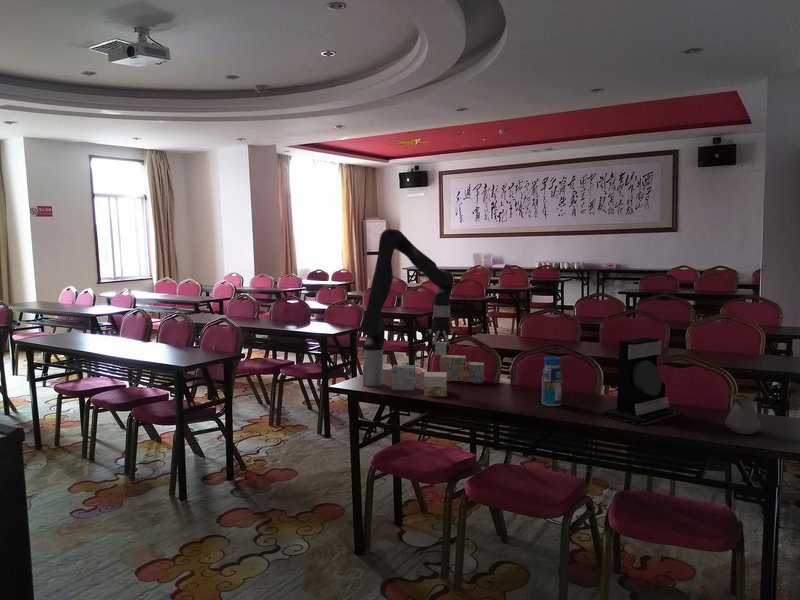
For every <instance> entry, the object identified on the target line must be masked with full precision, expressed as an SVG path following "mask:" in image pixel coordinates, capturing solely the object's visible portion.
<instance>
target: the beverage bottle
mask: <svg viewBox="0 0 800 600" xmlns="http://www.w3.org/2000/svg"><path fill="white" fill-rule="evenodd" d="M543 360H544V361H543V362H544V363H543V364H544V368H543V370H542V372H541V373H542V376H541V382H542V383H541V384H542V385H541V386H542V387H541V388H542V389H541V404H543V405H545V406H549V407H558V406H561V405H562V389H563V388H562V387H563V386H562V384H563V378H562V376H563V371H562V370H561V368H560V367H561V365H562V364H561V362H562V357H559V356H556V355H555V356H553V355H549V356H545V357H544V359H543Z"/></svg>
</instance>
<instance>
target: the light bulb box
mask: <svg viewBox="0 0 800 600" xmlns="http://www.w3.org/2000/svg"><path fill="white" fill-rule="evenodd" d="M415 389H416V365H414V364H413V365H412V364H409V365H408V364H393V366H392V367H391V390H392V391H415Z"/></svg>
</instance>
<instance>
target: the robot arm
mask: <svg viewBox="0 0 800 600" xmlns="http://www.w3.org/2000/svg"><path fill="white" fill-rule="evenodd" d="M378 242H379V243H378V244H379V245H378V252H377V259H376V263H375V268H374V273H373V276H372V280H371V286H370V292H369V295H368V302H367V305H366V309H365V311H364V315H363V318H362V320H361V331H362V332H363V334H364V336H366V338H365V341H364V343H363V365H362V386H366V387H380V386H382V385H383V384H384V383H383V382H384V367H383V366H384V356H383V355H384V344H385V335H386V334H385V333H386V332H385V330H386V327H385V321H384V319H383V317H381V313H382V309H383V306H384V305H385V303H386V301H387V299H388V297H389V295H390V292H391V289H392V285H393V280H394V279H393V278H394V276H393V274H394V273H393V267H392V259H393V255H394V252H395V251H394V250H396V251H398V252H400V253H401V254H403V255H404V256H406V258H407V259H408V260H409V261H410V263H411V264H412V265H413V266H414V267H415V268H416V269H417V270H418V271H419V272H421V273H423V274H424V275H425V276H426V278H427V279H428V280H429V281H430V282H431V283H432V284H433V285H435V286H436V287H438V288H437V291H436V292H435V294H434V297H433V299H434V300H433V303H434V304H433V313H432V315H433V316H432V317H433V318H432V327H431V328H429V329H426V330H425V332H426V338H427V343H429V344H431V351H432V352H433V353H434V354H435V342H437V339H438V338H442V339H444V340H445V342H446V354H448V352H450V345H452V344H454V341H455V338H456V334H457V331H456V330H455V329H451V326H450V324H451V323H450V322H451V294H452V291H453V290H452V289H453V286H454V276H453V273H451V271H449V270H441V269H439V268H438V267H437V263H436V262H435V261H434V260H433V259H431V258H430V257H428V256H427V255H426V254H425V253H423V252H422V251H421V250H419V249H418V248H417V247H416V246H415V245H414V244H413V243H412V242H411V241H410V240H409V239H408V238H407V236H406V235H405V234H403V232H402V231H400V230H398V229H395V228H394V229H393V228H386V229H385V230H382V232H381V234H380V237H379V241H378ZM432 333H433V335H434V336H433V339H431V334H432ZM449 334H451V338H450V340H449V337H448V335H449Z"/></svg>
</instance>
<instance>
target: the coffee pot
mask: <svg viewBox="0 0 800 600" xmlns="http://www.w3.org/2000/svg"><path fill="white" fill-rule="evenodd" d="M733 398H734V399H731V402H735V403H734V404H733V407H732V408H731V411H730V412H729V414H728V415H727V417H726V419H725V422H724V423H725V426H726V427H727V428H728V427H729V428H731V429H734V430H738V431H743V432H756V431H758V432H760V431H761V429H762V423H761V421H760V419H759V417H758V414H757V412H756V409H755V405H754V404H753V403H754V400H755V399H756V398H755V397H754V396H753V395H748V394H747V395H746V394H745V395H744V394H733ZM729 428H728V429H729ZM731 429H730V430H731ZM756 433H757V432H756Z"/></svg>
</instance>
